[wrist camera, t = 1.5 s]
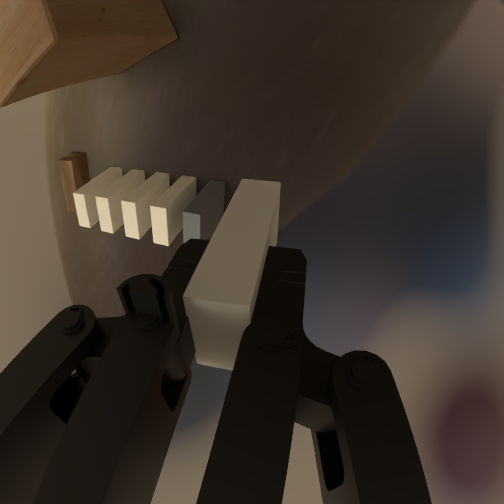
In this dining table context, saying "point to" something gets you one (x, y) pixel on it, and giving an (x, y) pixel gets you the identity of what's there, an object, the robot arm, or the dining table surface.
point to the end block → (73, 176)
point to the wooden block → (74, 41)
